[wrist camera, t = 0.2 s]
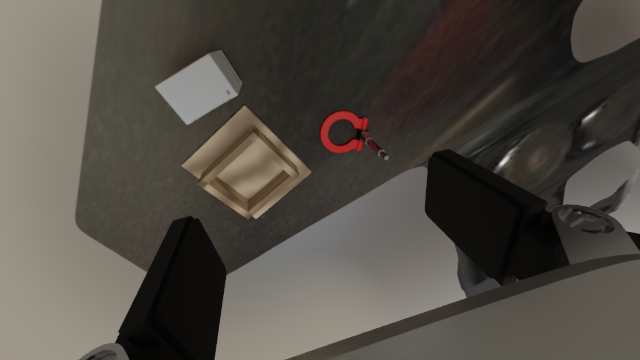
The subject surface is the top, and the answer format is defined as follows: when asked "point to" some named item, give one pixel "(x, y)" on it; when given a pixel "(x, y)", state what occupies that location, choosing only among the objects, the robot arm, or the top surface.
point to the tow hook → (353, 143)
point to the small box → (200, 86)
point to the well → (246, 165)
